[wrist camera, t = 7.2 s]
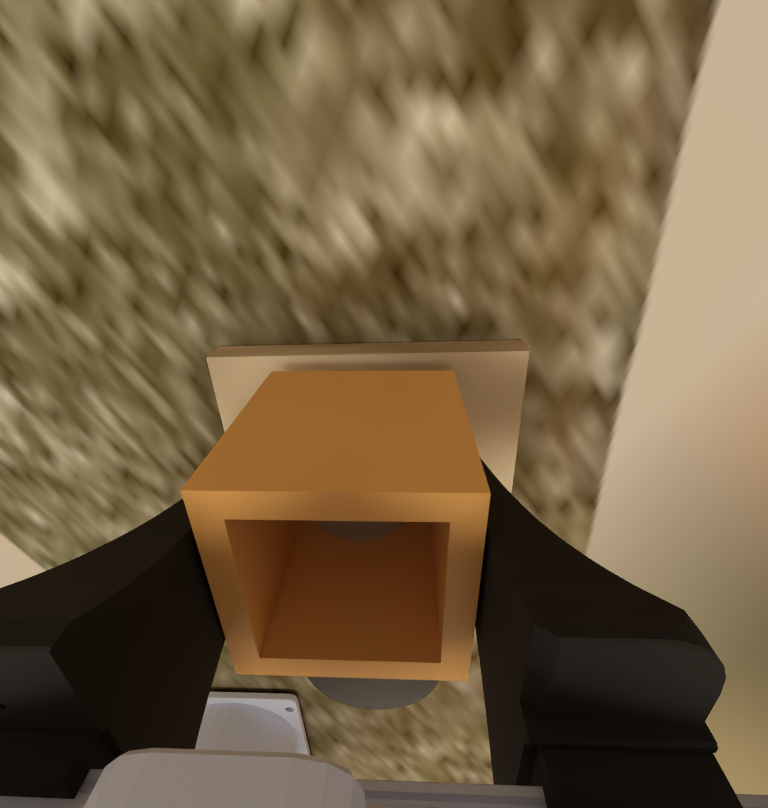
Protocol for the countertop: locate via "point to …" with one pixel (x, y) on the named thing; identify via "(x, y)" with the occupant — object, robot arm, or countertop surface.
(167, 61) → the countertop surface
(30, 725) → the robot arm
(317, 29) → the countertop surface
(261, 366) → the fitting board
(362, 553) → the sleeve
